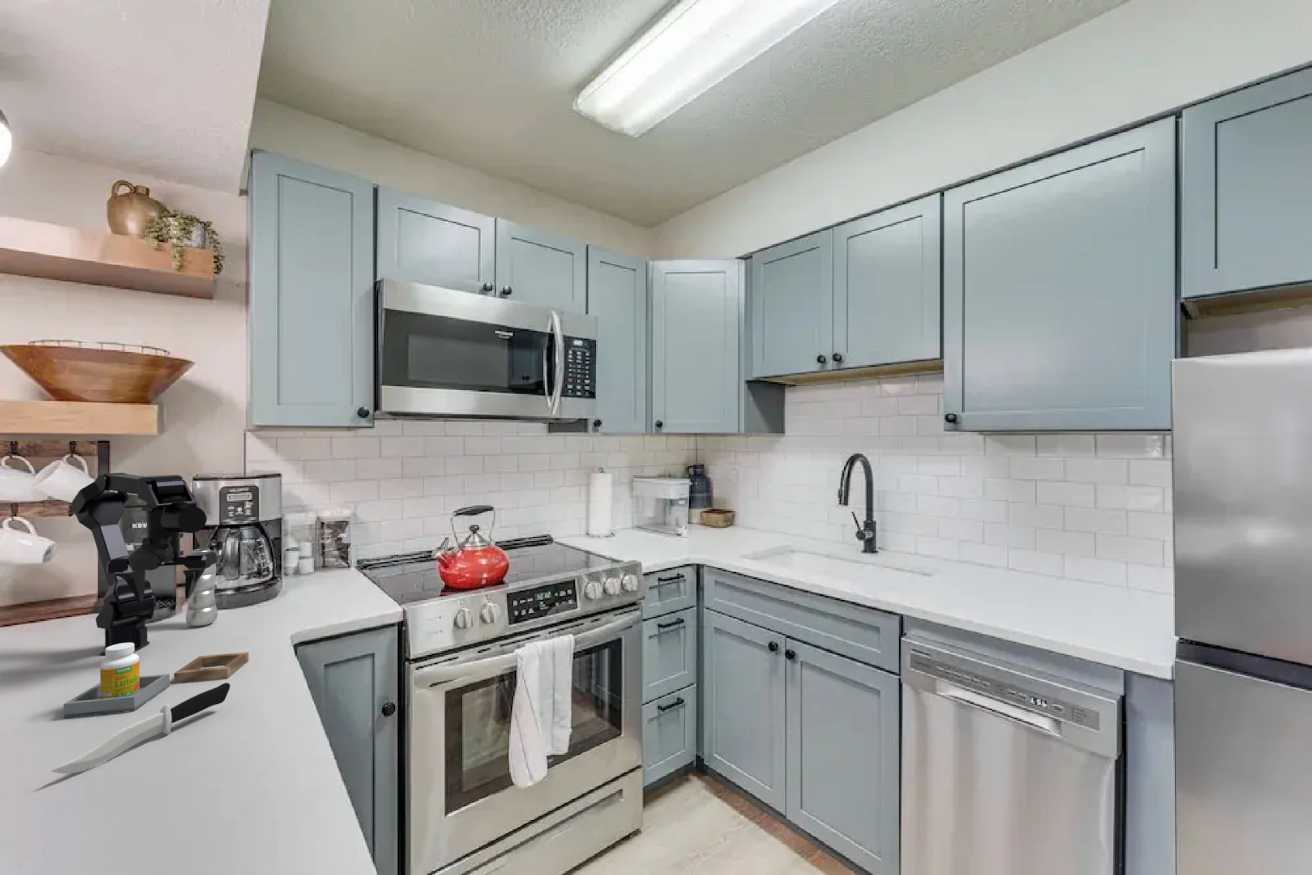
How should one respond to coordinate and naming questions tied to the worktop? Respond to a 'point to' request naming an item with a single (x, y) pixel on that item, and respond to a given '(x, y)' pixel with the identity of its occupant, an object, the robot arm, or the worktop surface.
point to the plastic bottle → (203, 598)
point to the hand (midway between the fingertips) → (164, 599)
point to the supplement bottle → (119, 672)
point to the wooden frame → (197, 674)
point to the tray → (116, 698)
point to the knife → (144, 730)
